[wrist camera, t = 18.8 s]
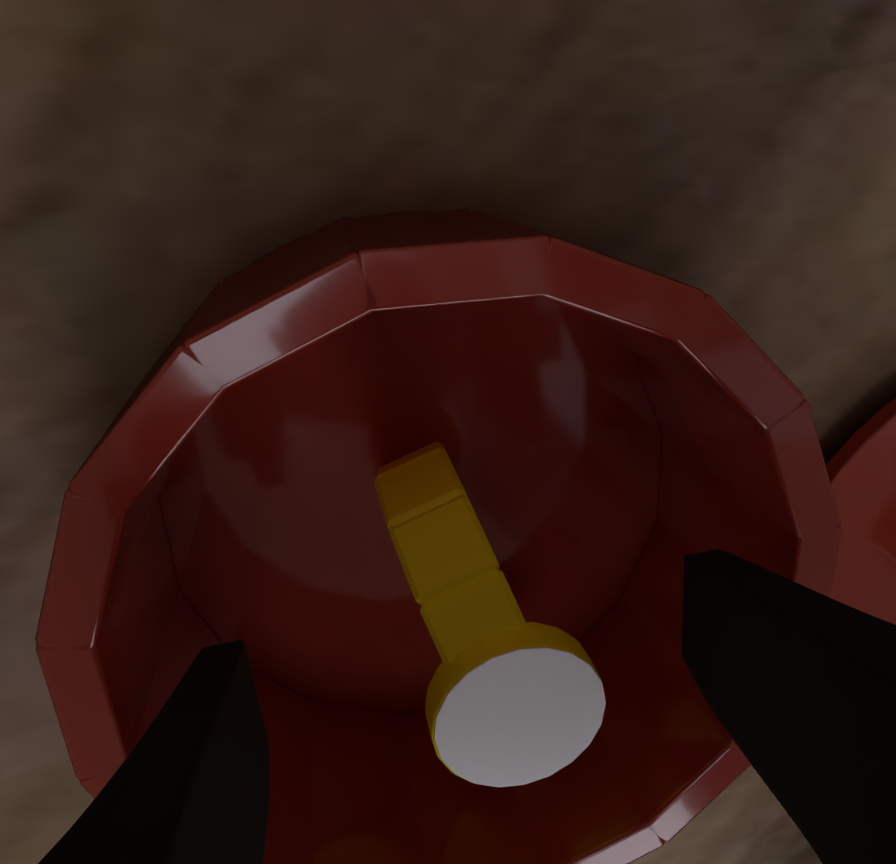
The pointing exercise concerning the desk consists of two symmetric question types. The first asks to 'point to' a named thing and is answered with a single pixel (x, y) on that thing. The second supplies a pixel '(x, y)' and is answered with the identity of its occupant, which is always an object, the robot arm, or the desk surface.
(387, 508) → the watch
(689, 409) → the pot
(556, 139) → the desk surface
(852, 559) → the lid
